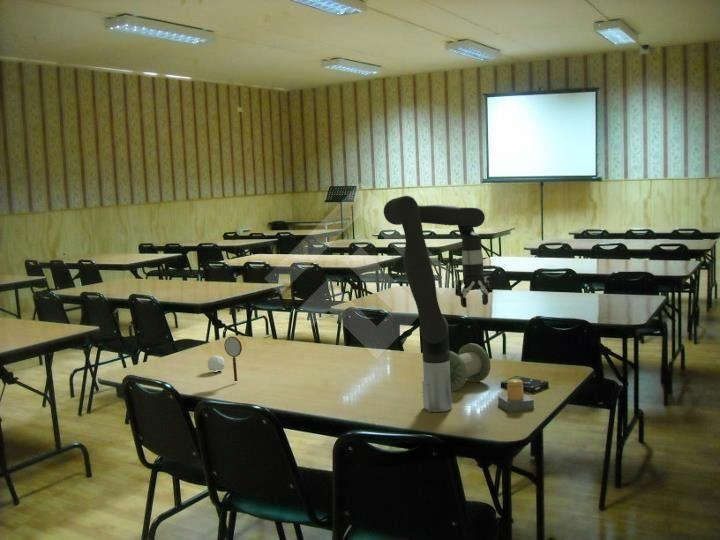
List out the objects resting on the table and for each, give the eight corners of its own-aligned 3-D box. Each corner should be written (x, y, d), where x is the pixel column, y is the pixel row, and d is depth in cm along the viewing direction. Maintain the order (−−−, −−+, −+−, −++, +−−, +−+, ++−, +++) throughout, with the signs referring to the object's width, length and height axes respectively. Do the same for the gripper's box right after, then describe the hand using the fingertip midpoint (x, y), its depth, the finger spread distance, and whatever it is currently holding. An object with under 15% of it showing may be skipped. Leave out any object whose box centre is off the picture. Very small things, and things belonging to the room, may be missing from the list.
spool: (460, 378, 299) (458, 341, 297) (491, 383, 288) (489, 345, 286) (433, 387, 287) (431, 349, 286) (465, 393, 277) (463, 354, 275)
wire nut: (520, 400, 253) (519, 383, 253) (506, 399, 256) (505, 382, 255) (524, 396, 258) (524, 379, 257) (511, 395, 260) (510, 378, 260)
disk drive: (549, 388, 278) (515, 382, 289) (549, 381, 278) (515, 375, 289) (533, 395, 271) (500, 388, 282) (533, 387, 271) (499, 381, 282)
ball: (220, 378, 333) (223, 366, 328) (203, 373, 333) (205, 361, 328) (226, 366, 339) (228, 354, 334) (209, 361, 339) (211, 349, 334)
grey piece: (509, 411, 252) (508, 391, 251) (498, 404, 261) (497, 385, 260) (533, 408, 254) (533, 388, 253) (522, 401, 263) (521, 382, 262)
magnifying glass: (245, 383, 311) (241, 336, 308) (243, 384, 309) (239, 337, 307) (229, 382, 315) (225, 335, 313) (226, 383, 313) (222, 336, 311)
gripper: (460, 265, 267) (462, 309, 269) (494, 261, 272) (496, 305, 273) (450, 263, 274) (452, 306, 276) (484, 259, 279) (486, 302, 280)
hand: (474, 305), depth 274 cm, fingers open, 8 cm apart
